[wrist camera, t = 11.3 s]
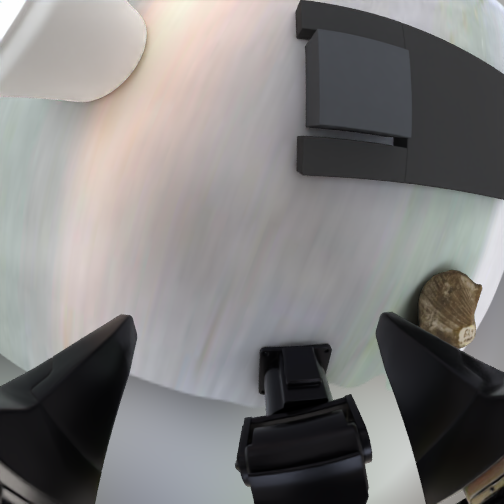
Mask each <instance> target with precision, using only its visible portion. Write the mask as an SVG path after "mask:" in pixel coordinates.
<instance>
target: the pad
mask: <svg viewBox="0 0 504 504" xmlns="http://www.w3.org/2000/svg"><path fill="white" fill-rule="evenodd" d="M305 52H306V127H309V128H322V129H333V130H342V131H350V132H358V133H365V134H372V135H379V136H385V137H400V138H411V133H412V91H411V71H410V58H409V50H407V49H403V48H400V47H397V46H394V45H391V44H387V43H384V42H380V41H376V40H373V39H369V38H364V37H360V36H356V35H351V34H346V33H341V32H335V31H329V30H323V29H317V30H316V32H315V33H314V35H313V36H312V38H311V39H310V40H309V42H308V43H307V45H306V46H305Z"/></svg>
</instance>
